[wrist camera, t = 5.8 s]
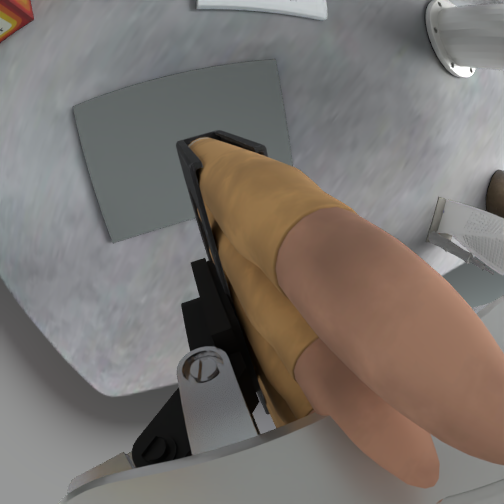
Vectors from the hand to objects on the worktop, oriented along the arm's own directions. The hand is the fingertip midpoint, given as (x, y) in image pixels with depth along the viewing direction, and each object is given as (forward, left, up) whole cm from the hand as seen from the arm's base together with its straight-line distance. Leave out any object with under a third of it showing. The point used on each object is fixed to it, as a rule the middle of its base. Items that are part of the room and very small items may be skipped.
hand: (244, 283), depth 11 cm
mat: (-1, -4, -17) cm, 18 cm away
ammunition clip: (0, 0, -3) cm, 3 cm away
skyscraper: (-36, +12, -18) cm, 42 cm away
